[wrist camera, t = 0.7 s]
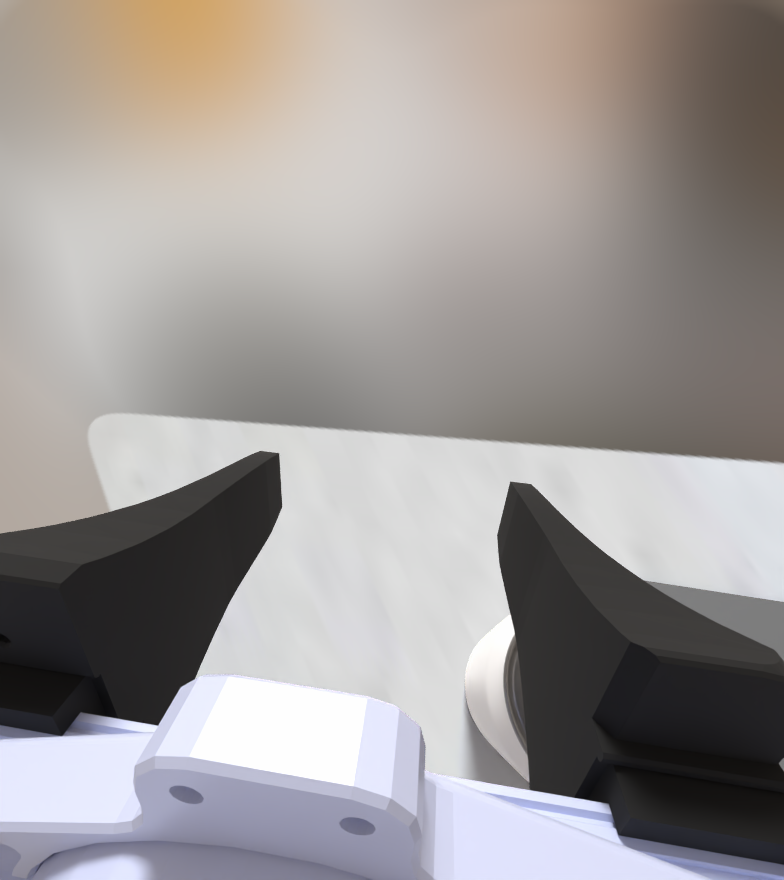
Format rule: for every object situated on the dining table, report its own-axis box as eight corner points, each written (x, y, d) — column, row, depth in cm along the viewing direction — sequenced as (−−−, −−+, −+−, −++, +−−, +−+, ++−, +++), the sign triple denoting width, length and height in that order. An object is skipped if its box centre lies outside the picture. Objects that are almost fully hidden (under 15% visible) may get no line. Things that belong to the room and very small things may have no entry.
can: (572, 786, 20) (714, 889, 10) (449, 729, 22) (466, 768, 12) (589, 651, 23) (713, 627, 13) (479, 610, 25) (514, 559, 15)
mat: (945, 973, 17) (962, 982, 16) (631, 888, 18) (637, 894, 18) (824, 611, 24) (833, 609, 23) (605, 577, 25) (609, 575, 25)
